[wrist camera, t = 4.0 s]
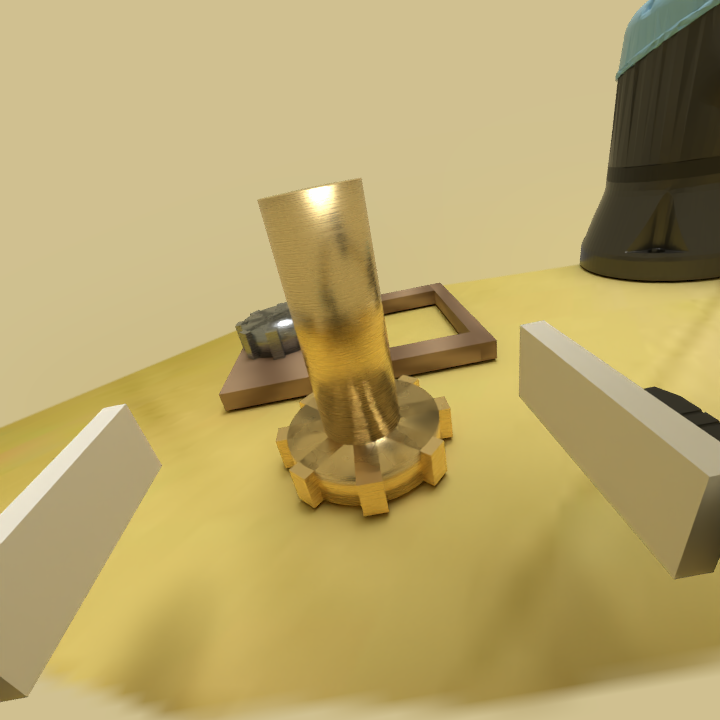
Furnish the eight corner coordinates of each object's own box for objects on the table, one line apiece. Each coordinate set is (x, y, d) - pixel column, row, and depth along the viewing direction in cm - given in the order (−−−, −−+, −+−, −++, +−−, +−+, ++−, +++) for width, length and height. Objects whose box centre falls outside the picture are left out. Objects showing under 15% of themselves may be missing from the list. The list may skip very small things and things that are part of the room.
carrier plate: (441, 295, 42) (440, 282, 41) (496, 358, 28) (496, 340, 27) (261, 331, 42) (257, 319, 42) (225, 410, 28) (218, 394, 27)
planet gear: (430, 386, 26) (404, 166, 20) (479, 495, 17) (462, 160, 11) (294, 413, 26) (226, 204, 20) (275, 533, 17) (141, 227, 11)
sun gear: (325, 318, 38) (319, 295, 37) (323, 350, 31) (316, 323, 30) (253, 333, 38) (245, 310, 37) (236, 367, 31) (225, 341, 30)
